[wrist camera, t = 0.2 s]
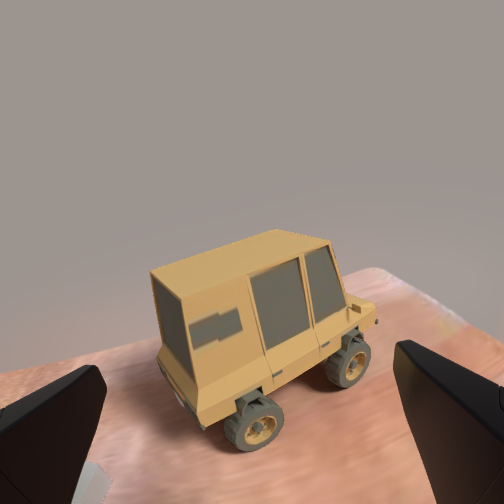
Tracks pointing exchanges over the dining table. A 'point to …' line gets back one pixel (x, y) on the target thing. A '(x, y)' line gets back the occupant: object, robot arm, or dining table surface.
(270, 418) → the toy car
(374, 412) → the dining table surface
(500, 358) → the dining table surface
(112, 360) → the dining table surface
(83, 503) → the grey block
